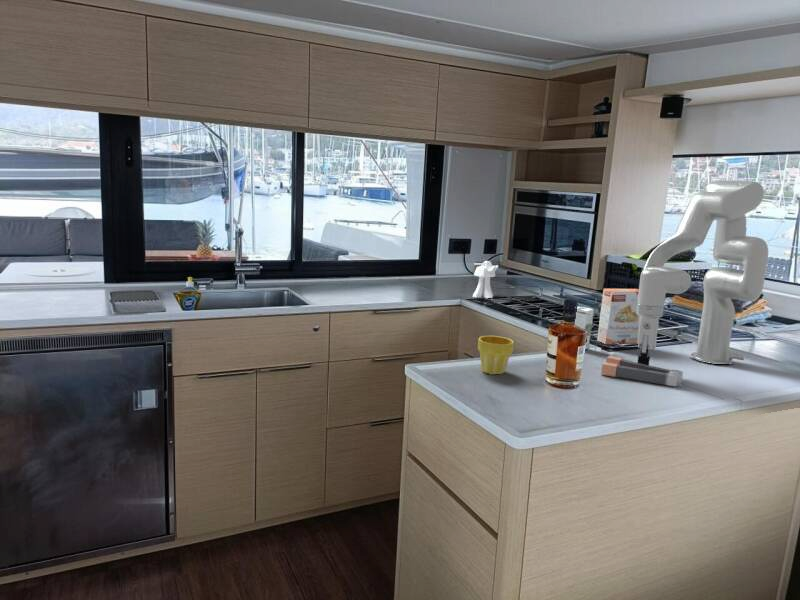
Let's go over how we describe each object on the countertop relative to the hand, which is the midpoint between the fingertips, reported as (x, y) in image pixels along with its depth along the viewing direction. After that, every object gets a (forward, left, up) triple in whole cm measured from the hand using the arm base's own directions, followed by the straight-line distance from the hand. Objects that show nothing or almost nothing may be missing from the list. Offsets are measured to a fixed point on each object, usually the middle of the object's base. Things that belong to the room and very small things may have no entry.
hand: (642, 368), depth 184 cm
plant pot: (+40, +25, -2) cm, 47 cm away
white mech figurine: (+81, -95, -2) cm, 124 cm away
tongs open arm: (+2, +3, -1) cm, 3 cm away
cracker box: (+10, -30, -2) cm, 31 cm away
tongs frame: (0, +8, -1) cm, 8 cm away
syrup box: (+22, -18, -2) cm, 28 cm away
